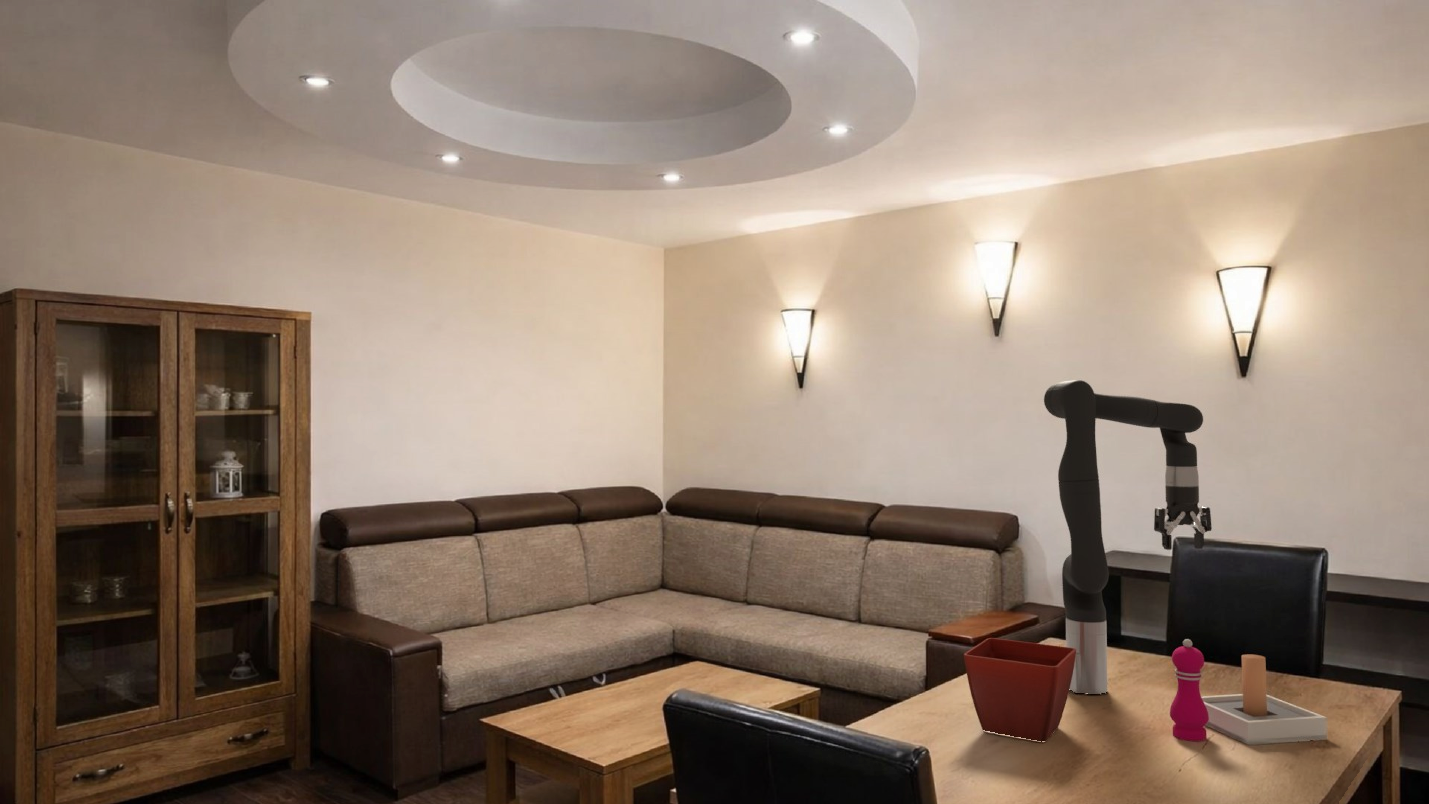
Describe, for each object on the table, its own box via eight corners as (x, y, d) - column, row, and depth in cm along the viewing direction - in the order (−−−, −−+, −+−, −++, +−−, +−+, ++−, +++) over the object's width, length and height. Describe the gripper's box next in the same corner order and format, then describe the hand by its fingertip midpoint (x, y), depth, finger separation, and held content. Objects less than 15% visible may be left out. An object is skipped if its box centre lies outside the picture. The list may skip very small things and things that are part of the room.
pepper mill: (1206, 732, 198) (1204, 636, 199) (1212, 743, 191) (1209, 644, 192) (1168, 729, 201) (1166, 634, 201) (1172, 740, 194) (1170, 641, 194)
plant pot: (1078, 725, 203) (1077, 647, 204) (1058, 752, 187) (1057, 666, 188) (989, 712, 214) (988, 636, 214) (963, 735, 198) (962, 654, 198)
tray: (1248, 745, 190) (1247, 722, 190) (1189, 717, 208) (1188, 697, 208) (1327, 739, 193) (1326, 717, 193) (1262, 713, 211) (1261, 692, 211)
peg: (1253, 727, 198) (1251, 660, 199) (1238, 720, 203) (1236, 655, 203) (1272, 725, 199) (1270, 658, 199) (1256, 719, 203) (1254, 653, 204)
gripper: (1165, 485, 233) (1166, 551, 233) (1217, 484, 235) (1219, 550, 235) (1146, 483, 240) (1148, 548, 240) (1197, 482, 243) (1198, 546, 242)
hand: (1183, 549), depth 237 cm, fingers open, 8 cm apart
